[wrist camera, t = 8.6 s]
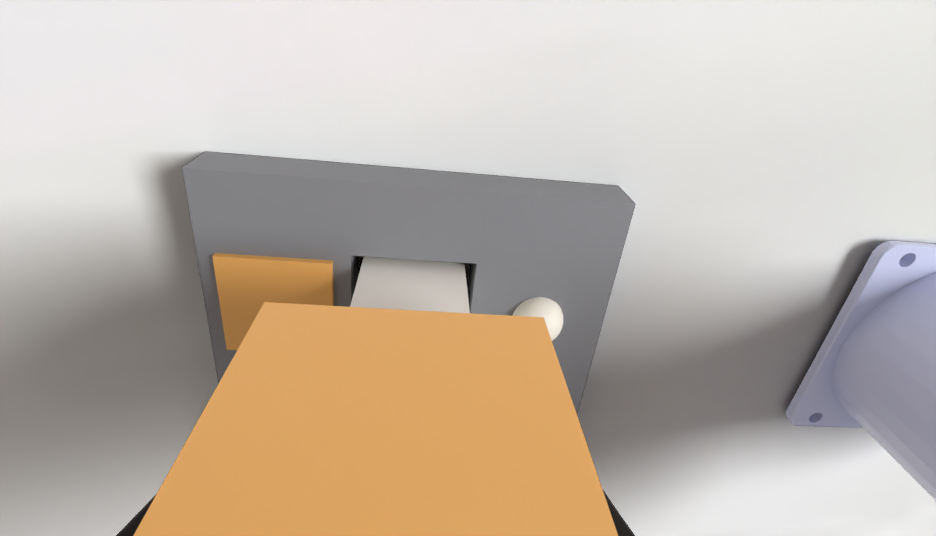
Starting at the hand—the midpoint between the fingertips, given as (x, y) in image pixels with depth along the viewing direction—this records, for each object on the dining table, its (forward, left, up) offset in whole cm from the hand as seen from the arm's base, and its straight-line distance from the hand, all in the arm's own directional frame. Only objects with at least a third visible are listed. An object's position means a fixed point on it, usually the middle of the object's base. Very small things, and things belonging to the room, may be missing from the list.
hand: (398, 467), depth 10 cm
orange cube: (0, 0, -1) cm, 1 cm away
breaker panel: (0, +6, -7) cm, 9 cm away
